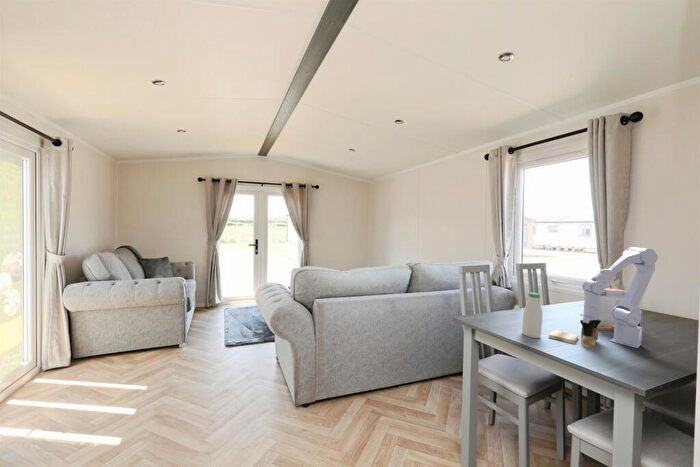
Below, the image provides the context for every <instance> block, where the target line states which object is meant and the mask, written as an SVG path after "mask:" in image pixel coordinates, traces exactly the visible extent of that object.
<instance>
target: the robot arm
mask: <svg viewBox="0 0 700 467" xmlns="http://www.w3.org/2000/svg"><path fill="white" fill-rule="evenodd" d="M658 259H659V256H658V254H657V253H656V251H655V250H654V249H653V248H648V247H647V248H643V247H635V246H631V247H628V248H627V249H626V250H624V251H623V252H622V255H620V257H619V258H618V259H617V260H616V261H615V262H614V263H613V264H612V265H611V266H610V267H609V268H603V269H600V270H599V272H598V273H597V274H595V275H594V276H592V277H591V278H590V279H587V280H585V281H584V282H583V284H581V287H582V289H583V292H584V300H583V301H584V303H583V313H580V314H579V316H581V317H583V318H582V319H580V321H579V322H580V324H581V326H582V327H583V331H584V336H589V337H591V335H592V331H593V328H597V327H598V325H599V323H600V322H601V320H599V309H600V296H601V293H603V292H604V290H605V288H607V286H608V285H609V284H610V283H611V282H613V281H614V280H615V279H616V277H617V274H618V273H620V272H621V271H622V270H623V269H625V268H627V267H628V266H629V265H631V264H633V265H634V266H635V268H636V272H635V273H634V276H633V278H632V280H631V282H630V285H629V288H628V289H627V291H626V296H625V298H624V300H623V301H621V302H619V303H617V305H616V307H615V308H613V310H612V312H611V314H612V317H613V318H614V321H615V328H614V331H613V338H611V339H610V342H612V343H615V344H620V345H625V346H628V347H631V348H636V349H639V347H640V346H641V345H642V338H643V327H642V326H639V324H640V323H641V322H642V314H643V311H642V309H641V308H640V303H641V302H642V299H643V297H644V294H645V293H646V290H647V289H648V287H649V284H650V281H651V279H652V277H653V275H654V273H655V270H656V263H657V261H658ZM582 327H581V328H582Z"/></svg>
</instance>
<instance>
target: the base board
mask: <svg viewBox="0 0 700 467" xmlns="http://www.w3.org/2000/svg"><path fill="white" fill-rule="evenodd" d="M548 339H553V340H556V341H561V342H565V343H567V344H568V343H569V344H573V345H576V343H577V340H578V339H579V335H578V334H574V333H570V332H564V331H562V330H561V331H560V330H556V329H552V331H551V332H550V333H549V334H548Z"/></svg>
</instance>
